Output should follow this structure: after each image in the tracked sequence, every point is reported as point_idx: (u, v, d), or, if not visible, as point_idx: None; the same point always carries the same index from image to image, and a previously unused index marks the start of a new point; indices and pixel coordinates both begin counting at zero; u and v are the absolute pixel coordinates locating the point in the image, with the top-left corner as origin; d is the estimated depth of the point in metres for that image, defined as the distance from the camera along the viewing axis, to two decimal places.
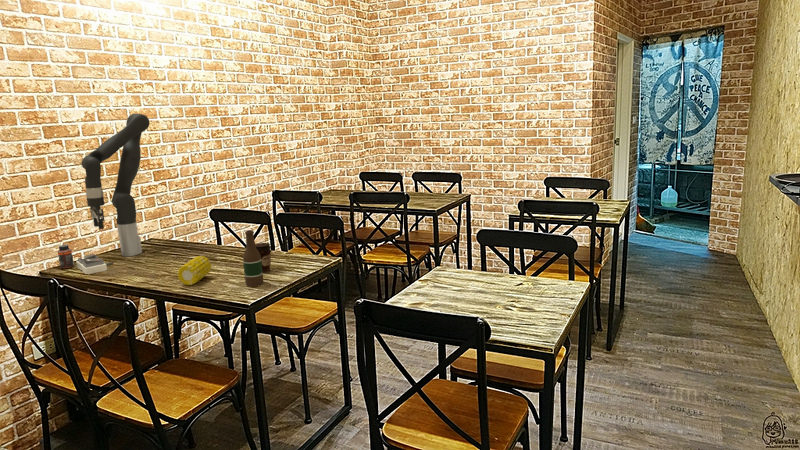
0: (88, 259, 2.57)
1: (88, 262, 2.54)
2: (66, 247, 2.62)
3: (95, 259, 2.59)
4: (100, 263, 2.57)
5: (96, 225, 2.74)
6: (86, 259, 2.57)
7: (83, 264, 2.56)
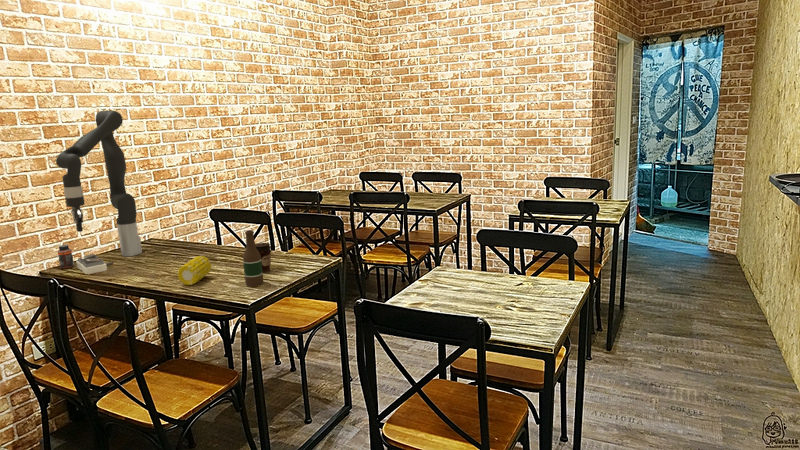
0: (88, 259, 2.57)
1: (88, 262, 2.54)
2: (66, 247, 2.62)
3: (95, 259, 2.59)
4: (100, 263, 2.57)
5: None
6: (86, 259, 2.57)
7: (83, 264, 2.56)
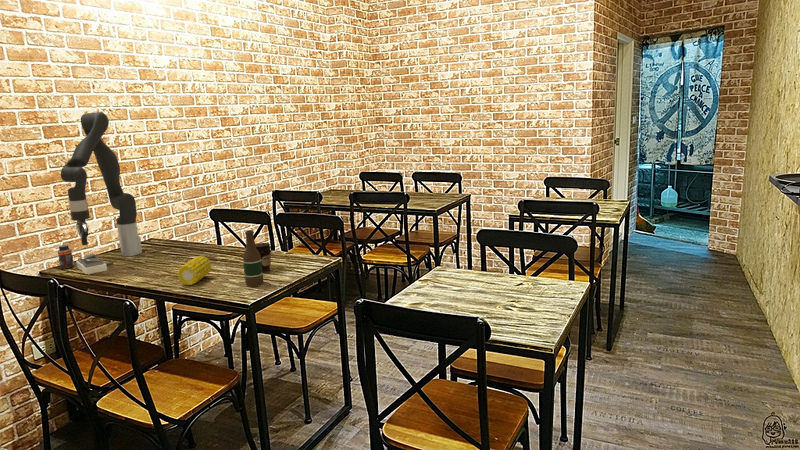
0: (88, 259, 2.57)
1: (88, 262, 2.54)
2: (66, 247, 2.62)
3: (95, 259, 2.59)
4: (100, 263, 2.57)
5: None
6: (86, 259, 2.57)
7: (83, 264, 2.56)
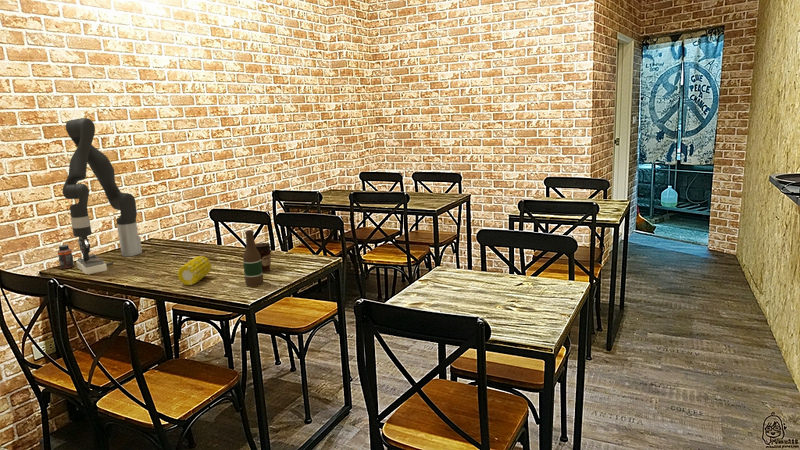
0: None
1: (88, 262, 2.54)
2: (66, 247, 2.62)
3: (95, 259, 2.59)
4: (100, 263, 2.57)
5: None
6: None
7: (83, 264, 2.56)
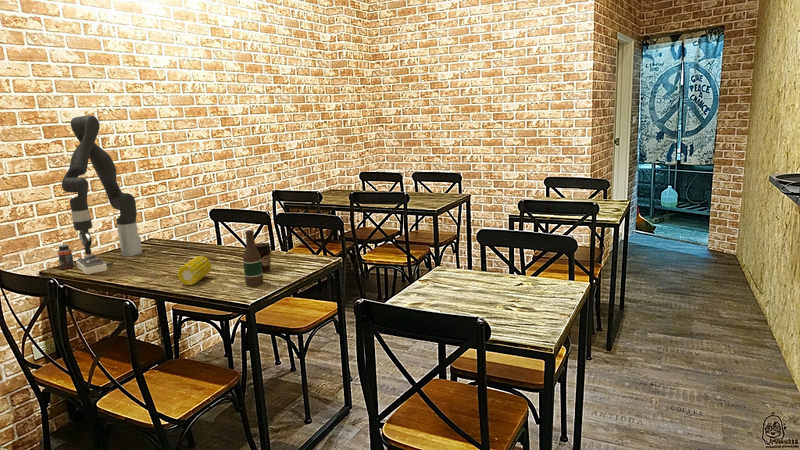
0: (88, 260, 2.57)
1: None
2: (66, 247, 2.62)
3: (94, 258, 2.59)
4: (100, 263, 2.57)
5: None
6: (86, 261, 2.57)
7: (83, 264, 2.56)
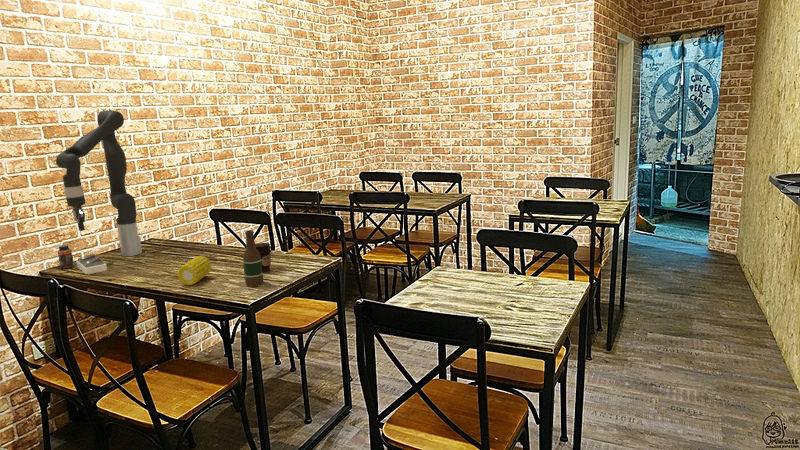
0: (87, 261, 2.57)
1: None
2: (66, 247, 2.62)
3: (94, 258, 2.59)
4: (100, 263, 2.57)
5: None
6: (86, 262, 2.57)
7: (83, 264, 2.56)
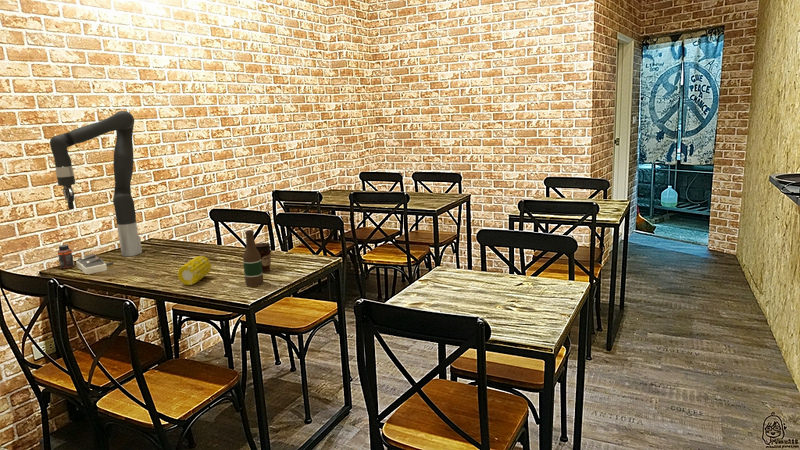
0: (87, 261, 2.57)
1: None
2: (66, 247, 2.62)
3: (94, 258, 2.59)
4: (100, 263, 2.57)
5: None
6: (86, 261, 2.57)
7: (83, 264, 2.56)
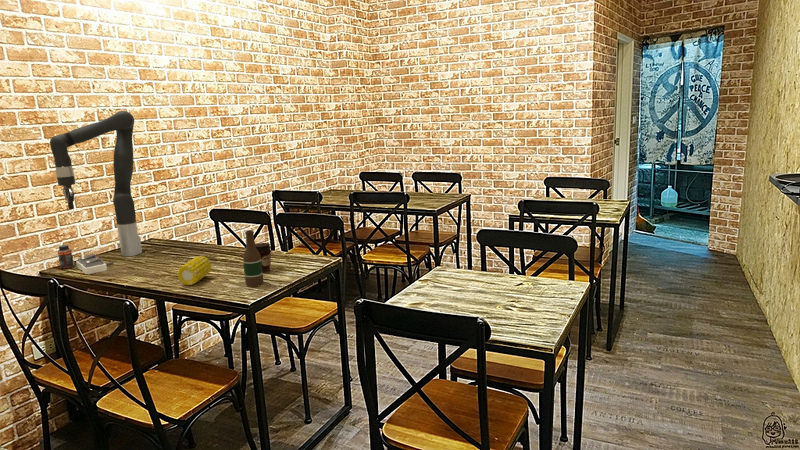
0: (88, 260, 2.57)
1: None
2: (66, 247, 2.62)
3: (94, 258, 2.59)
4: (100, 263, 2.57)
5: None
6: (86, 261, 2.57)
7: (83, 264, 2.56)
